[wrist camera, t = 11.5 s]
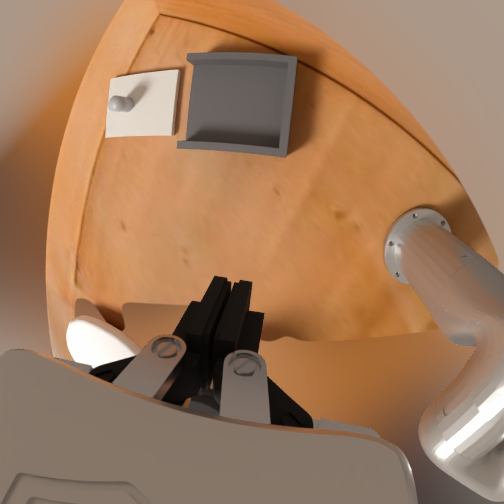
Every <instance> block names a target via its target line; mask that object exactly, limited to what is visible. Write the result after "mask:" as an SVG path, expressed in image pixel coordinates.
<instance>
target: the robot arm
mask: <svg viewBox="0 0 504 504" xmlns="http://www.w3.org/2000/svg"><path fill="white" fill-rule="evenodd" d="M413 214H414V216H413ZM390 241H391V242H390ZM389 242H390V243H389ZM384 260H385V264H386V266H387V269H388V270H389V272H390V273H391V275H392V276H393V277H394V278H395V279H396V280H398V281H399V282H401V283H404V284H407V285H411V286H412V287H413V289H414V290H415V292H416V293H417V295H418V296H419V298H420V299H421V301H422V302H423V304H424V305H425V307H426V308H427V310H428V311H429V313H430V314H431V316H432V317H433V319H434V320H435V322H436V324H437V325H438V327H439V328H440V330H441V331H442V332H443V334H444V335H445V337H446V338H447V339H449V340H450V341H451V342H453V343H455V344H458V345H461V346H469V347H470V346H471V347H475V346H476V349H475V351H474V353H473V354H472V356H471V357H470V359H469V360H468V361H467V363H466V364H465V366H464V367H463V368H462V370H461V371H460V372H459V373H458V375H457V376H456V377H455V378H454V379H453V380H452V381H451V383H450V384H449V385H448V386H447V387H446V388H445V389H444V391H442V393H441V394H440V395H439V396H438V397H437V398H436V399H435V400H434V401H433V402H432V403H431V404H430V406H429V407H428V408H427V410H426V411H425V413H424V414H423V416H422V419H421V421H420V425H419V438H420V443H421V445H422V448H423V450H424V451H425V453H426V454H427V456H428V457H429V458H430V460H431V461H432V462H433V463H434V464H435V465H437V466H438V467H439V468H440V469H441V470H443V471H444V472H446V473H447V474H449V475H450V476H451V477H453V478H454V479H456V480H458V481H459V482H460V483H462V484H464V485H465V486H467V487H468V488H470V489H471V490H473V491H475V492H476V493H478V494H479V495H481V496H483V497H485V498H487V499H489V500H491V501H496V502H499V501H504V274H503V273H501V272H500V271H499V270H498V269H497V268H496V267H494V266H493V265H492V264H491V263H489V262H488V261H487V260H486V259H485V258H483V257H482V256H481V255H480V254H478V253H477V252H476V251H474V250H473V249H472V248H471V247H469V246H468V245H467V244H465V243H464V242H463V241H461V240H460V239H458V238H457V237H456V236H454V235H453V234H452V232H451V229H450V226H449V224H448V222H447V220H446V219H445V218H444V217H443V216H442V215H441V214H440V213H438V212H436V211H435V210H433V209H429V208H415V209H412V210H410V211H407V212H406V213H404V214H403V215H401V216H400V217H399V218H398V219H397V220H396V221H395V222H394V224H393V225H392V226H391V228H390V230H389V232H388V234H387V236H386V240H385V243H384ZM251 290H252V282H250V281H244V280H240V281H239V283H236V282H235V283H234V285H233V288H232V290H231V282H229V281H227V278H225V277H219V276H214V278H213V280H212V282H211V284H210V285H209V287H208V289H207V291H206V293H205V295H204V297H203V299H202V300H201V302H197V301H192V302H191V303H190V305H189V306H188V308H187V310H186V312H185V313H184V315H183V317H182V318H181V320H180V322H179V324H178V325H177V327H176V329H175V331H174V333H173V334H172V335H169V334H167V335H166V334H164V335H159V336H157V337H154V338H153V339H152V340H151V341H149V342H148V344H147V345H146V346H145V347H144V348H143V349H142V350H141V351H140V352H139V353H138V355H135V356H132V357H128V358H125V359H121V360H118V361H114V362H110V363H106V364H103V365H100V366H97V367H95V368H92V365H88V364H83V363H78V362H73V361H69V360H64V359H60V358H56V357H50V356H48V355H45V354H42V353H39V352H35V351H32V350H26V349H11V350H8V351H6V352H4V353H2V354H1V355H0V504H418V502H417V494H416V488H415V483H414V479H413V475H412V471H411V468H410V465H409V463H408V460H407V458H406V457H405V455H404V454H403V452H402V451H401V450H400V449H399V448H398V447H396V446H395V445H393V444H391V443H389V442H387V441H385V440H382V439H381V438H380V436H379V434H378V433H377V432H376V431H374V430H372V429H370V428H366V427H360V426H355V425H350V424H345V423H340V422H336V421H331V420H327V419H323V418H321V419H320V420H316V419H312V418H311V416H310V415H309V414H308V413H307V412H306V411H305V410H304V409H303V408H301V407H300V406H299V405H298V404H297V403H296V402H295V401H293V400H292V399H291V398H290V397H289V396H288V395H287V394H286V393H285V392H284V391H283V390H282V389H280V388H279V387H278V386H277V385H276V384H275V383H274V382H273V381H272V380H271V379H270V378H269V377H268V376H267V370H266V364H265V360H264V359H263V358H262V357H261V356H260V355H259V354H258V349H259V343H260V337H261V331H262V325H263V319H264V313H261V312H254V311H249V306H250V298H251ZM212 380H213V391H214V399H215V400H216V402H217V403H218V404H219V405H220V416H218V415H214V414H209V413H205V412H200V411H196V410H192V409H188V408H187V407H188V405H189V403H190V400H191V397H193V396H196V395H202V396H203V393H204V390H205V389H208V390H209V389H210V386H211V383H212Z"/></svg>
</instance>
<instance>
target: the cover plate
mask: <svg viewBox="0 0 504 504" xmlns="http://www.w3.org/2000/svg"><path fill="white" fill-rule="evenodd" d="M180 74H181V71H180V70H167V71H157V72H148V73H141V74H134V75H128V76H122V77H117V78H111V82H110V90H109V98H108V108H107V120H106V137H122V136H150V135H174V132H175V120H176V109H177V99H178V91H179V82H180ZM106 137H105V138H106Z"/></svg>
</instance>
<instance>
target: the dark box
mask: <svg viewBox="0 0 504 504" xmlns="http://www.w3.org/2000/svg"><path fill="white" fill-rule="evenodd" d="M186 60H187V61H188V62H190V63H191V64H193V65H194V69H193V77H192V84H191V93H190V102H189V111H188V122H187V133H186V141H177V148H179V149H202V150H217V151H230V152H241V153H251V154H260V155H269V156H277V157H284V158H286V155H287V147H288V139H289V130H290V122H291V113H292V104H293V95H294V86H295V76H296V67H297V57H296V56H288V55H278V54H266V53H248V52H206V53H188V54H187V59H186Z"/></svg>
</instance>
